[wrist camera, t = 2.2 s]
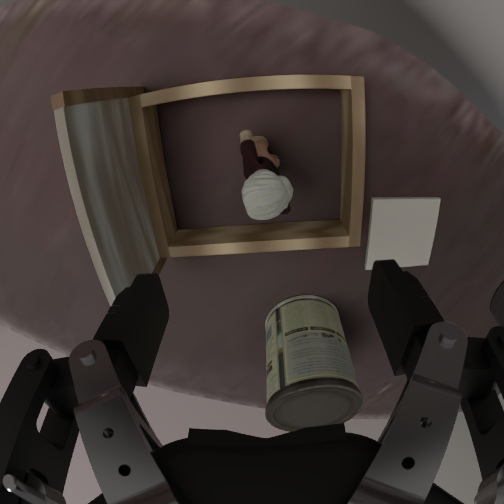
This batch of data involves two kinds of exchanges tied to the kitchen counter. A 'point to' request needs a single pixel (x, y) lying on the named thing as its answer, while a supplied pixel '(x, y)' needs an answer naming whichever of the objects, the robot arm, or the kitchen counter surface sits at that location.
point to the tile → (401, 230)
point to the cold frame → (157, 187)
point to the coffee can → (308, 366)
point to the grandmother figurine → (263, 179)
